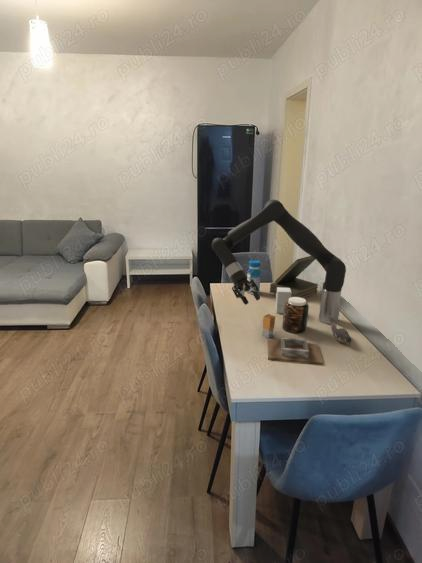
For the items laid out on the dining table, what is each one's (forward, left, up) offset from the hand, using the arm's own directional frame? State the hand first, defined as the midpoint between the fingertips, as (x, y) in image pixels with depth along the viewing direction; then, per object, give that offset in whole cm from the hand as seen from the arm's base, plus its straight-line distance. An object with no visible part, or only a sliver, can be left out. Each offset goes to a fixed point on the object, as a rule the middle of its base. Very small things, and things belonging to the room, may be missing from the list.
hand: (252, 301), depth 175 cm
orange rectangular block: (-8, +6, -14) cm, 17 cm away
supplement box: (-16, -26, -14) cm, 33 cm away
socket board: (-19, +20, -14) cm, 31 cm away
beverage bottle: (+1, -53, -14) cm, 55 cm away
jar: (-21, -5, -14) cm, 26 cm away
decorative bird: (-41, +1, -14) cm, 43 cm away
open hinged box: (-24, -57, -15) cm, 64 cm away
